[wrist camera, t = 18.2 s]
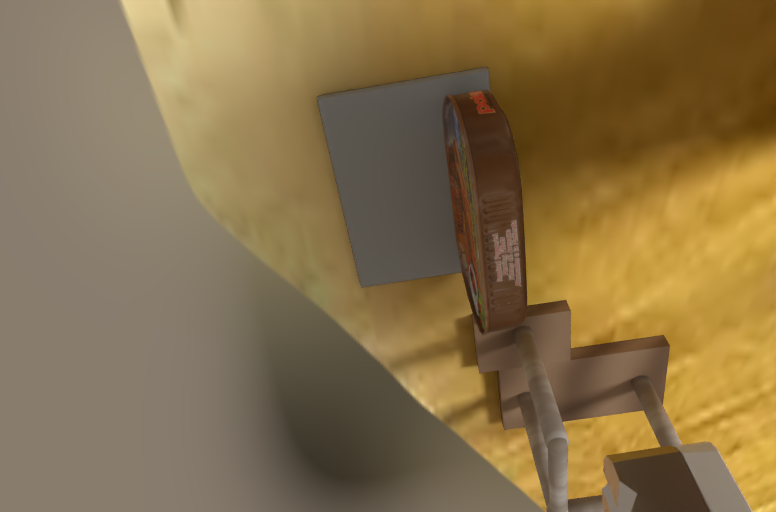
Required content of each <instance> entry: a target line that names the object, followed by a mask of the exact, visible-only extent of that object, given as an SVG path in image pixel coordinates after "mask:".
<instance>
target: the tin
mask: <svg viewBox="0 0 776 512" xmlns="http://www.w3.org/2000/svg"><path fill="white" fill-rule="evenodd" d="M442 117H443V128H444V141H445V150H446V158H447V166H448V175H449V183H450V191H451V200H452V209H453V218H454V226H455V234H456V242H457V248H458V253H459V259H460V264H461V270H462V274H463V278H464V283H465V287H466V291H467V295H468V298H469V302H470V305H471V309H472V313H473V316H474V318H475V322H476V324H477V327H478V329H479V331H480V333H481V334H482V335H486V334H487V333H489V332H494V331H499V330H504V329H509V328H513V327H517V326H520V325H521V324H522V323H523V322H524V320H525V318H526V313H527V283H526V258H525V237H524V222H523V204H522V189H521V179H520V171H519V165H518V158H517V153H516V149H515V144H514V140H513V136H512V133H511V129H510V126H509V123H508V120H507V118H506V116H505V114H504V112H503V111H502V110H501V108H500V107H499V106H498V104H497V102H496V100H495V99H494V97H493V95H492V94H491V93H490V92H489V91H488V90H481V91H474V92H469V93H464V94H459V95H453V96H452V95H449V94H448V95H446V96H445V98H444V101H443V107H442Z"/></svg>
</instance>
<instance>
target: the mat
mask: <svg viewBox="0 0 776 512" xmlns="http://www.w3.org/2000/svg"><path fill="white" fill-rule="evenodd" d="M481 90H488V91H489V92H490V81H489V70H488V68H487V67H485V68H479V69H473V70H467V71H461V72H455V73H449V74H444V75H438V76H432V77H426V78H420V79H414V80H409V81H403V82H397V83H391V84H385V85H379V86H374V87H368V88H362V89H356V90H350V91H344V92H338V93H333V94H327V95H321V96H318V97H317V102H318V106H319V110H320V114H321V119H322V123H323V127H324V131H325V136H326V140H327V144H328V148H329V153H330V157H331V161H332V166H333V170H334V174H335V178H336V183H337V187H338V191H339V195H340V200H341V204H342V208H343V212H344V217H345V221H346V225H347V230H348V234H349V238H350V242H351V247H352V251H353V255H354V259H355V264H356V268H357V272H358V276H359V281H360V285H361V288H362V287H368V286H375V285H381V284H388V283H394V282H401V281H408V280H414V279H421V278H427V277H434V276H440V275H447V274H453V273H460V272H462V270H461V264H460V259H459V253H458V248H457V242H456V234H455V226H454V218H453V209H452V200H451V191H450V183H449V175H448V166H447V158H446V150H445V141H444V128H443V117H442V107H443V101H444V98H445V96H446V95H448V94H449V95H452V96H453V95H459V94H464V93H469V92H474V91H481Z"/></svg>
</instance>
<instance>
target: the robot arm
mask: <svg viewBox="0 0 776 512" xmlns="http://www.w3.org/2000/svg"><path fill="white" fill-rule="evenodd" d="M603 471H604V474H605V476H606V479H607V482H608V484H607V485H606V486H605V487H604V488H603V489H602V503H603V510H604V512H753V511H752V509H751V508H750V506H749V504H748V502H747V501H746V499H745V497H744V495H743V493H742V492H741V490H740V488H739V486H738V485H737V483H736V481H735V479H734V478H733V476H732V474H731V472H730V470H729V469H728V467H727V465H726V463H725V462H724V460H723V458H722V456H721V455H720V453H719V451H718V449H717V448H716V447H715V446H714V445H713V444H712V443H711V442H706V441H705V442H699V443H692V444H686V445H680V446H665V447H658V448H652V449H645V450H639V451H632V452H626V453H619V454H612V455H606V457H605V459H604V468H603Z"/></svg>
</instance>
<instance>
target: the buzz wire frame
mask: <svg viewBox="0 0 776 512" xmlns="http://www.w3.org/2000/svg"><path fill="white" fill-rule="evenodd" d="M472 321H473V330H474V339H475V348H476V357H477V364H478V369H479V373H485V372H492V371H497V374H498V385H499V396H500V408H501V419H502V423H503V427H504V430H506V429H513V428H520V427H525V428H526V431H527V435H528V439H529V442H530V446H531V450H532V454H533V457H534V461H535V465H536V468H537V472H538V476H539V480H540V483H541V487H542V491H543V494H544V498H545V502H546V506H547V509H546V510H547V512H604V510H603V503H602V495H599V496H591V497H584V498H576V499H569V500H568V445H569V440H568V437H567V434H566V431H565V428H564V425H563V422H564V421H571V420H578V419H585V418H592V417H600V416H607V415H614V414H621V413H628V412H636V411H643V410H644V412H645V414H646V416H647V418H648V421H649V423H650V425H651V427H652V429H653V431H654V433H655V435H656V438H657V440H658V442H659V444H660V446H661V447H665V446H680V445H682V443H681V441H680V439H679V437H678V435H677V433H676V431H675V429H674V427H673V425H672V423H671V421H670V419H669V417H668V415H667V413H666V411H665V409H664V407H663V398H664V390H665V382H666V373H667V365H668V357H669V348H670V345H669V344H668V342H667V340H666V338H665V337H664V335H661V336H654V337H647V338H641V339H634V340H627V341H620V342H613V343H606V344H599V345H592V346H585V347H579V348H572V349H571V310H570V308H569V306H568V303H567V301H566V300H564V301H558V302H551V303H544V304H537V305H531V306H527V313H526V318H525V320H524V322H523V323H522V324H521V325H520V326H517V327H513V328H509V329H504V330H499V331H494V332H489V333H487V334H486V335H482V334H481V333H480V331H479V329H478V327H477V324H476V322H475V318H474V316H473V314H472Z"/></svg>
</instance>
